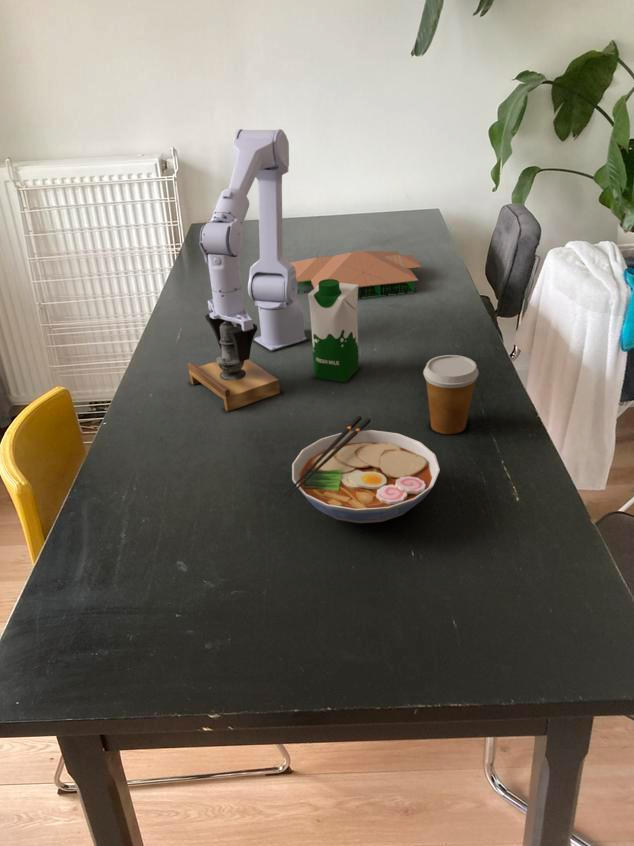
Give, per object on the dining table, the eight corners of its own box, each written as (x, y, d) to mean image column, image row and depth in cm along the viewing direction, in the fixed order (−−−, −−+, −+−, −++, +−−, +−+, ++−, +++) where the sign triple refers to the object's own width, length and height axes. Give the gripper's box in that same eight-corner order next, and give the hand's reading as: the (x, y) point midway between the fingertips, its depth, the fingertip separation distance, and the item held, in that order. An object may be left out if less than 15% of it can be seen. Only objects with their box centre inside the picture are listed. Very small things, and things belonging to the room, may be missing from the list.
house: (428, 291, 201) (429, 259, 197) (298, 306, 199) (296, 273, 194) (407, 262, 220) (407, 232, 215) (287, 275, 218) (285, 244, 213)
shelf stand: (240, 366, 173) (238, 347, 170) (279, 393, 162) (278, 372, 159) (190, 383, 168) (187, 363, 165) (227, 411, 157) (224, 390, 154)
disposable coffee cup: (478, 416, 149) (483, 356, 142) (470, 441, 142) (474, 380, 135) (427, 410, 152) (429, 351, 145) (416, 435, 145) (418, 374, 138)
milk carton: (308, 379, 166) (302, 284, 154) (326, 361, 172) (321, 269, 161) (348, 385, 162) (345, 289, 151) (364, 366, 169) (362, 272, 157)
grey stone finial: (243, 381, 160) (236, 324, 153) (214, 380, 161) (206, 323, 154) (250, 368, 165) (244, 312, 158) (222, 367, 166) (215, 312, 159)
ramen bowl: (394, 572, 114) (394, 526, 110) (262, 528, 125) (257, 484, 120) (464, 485, 131) (467, 441, 126) (342, 452, 142) (340, 411, 137)
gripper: (190, 282, 156) (200, 347, 164) (226, 303, 146) (234, 371, 154) (222, 273, 159) (230, 338, 167) (259, 293, 149) (266, 361, 157)
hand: (234, 353), depth 161 cm, fingers open, 7 cm apart
